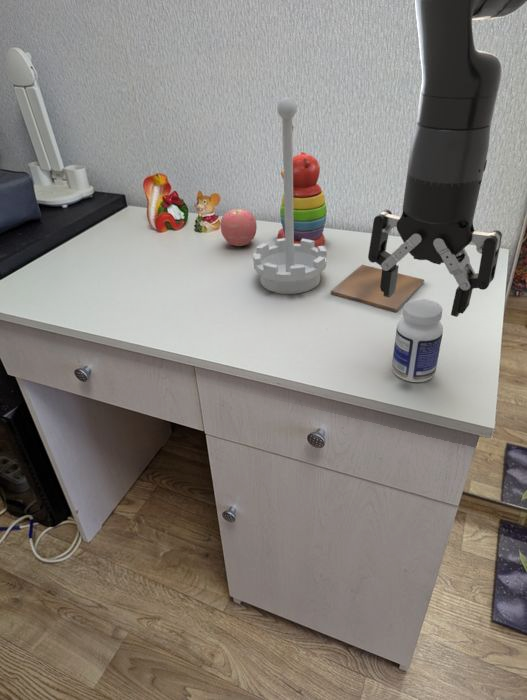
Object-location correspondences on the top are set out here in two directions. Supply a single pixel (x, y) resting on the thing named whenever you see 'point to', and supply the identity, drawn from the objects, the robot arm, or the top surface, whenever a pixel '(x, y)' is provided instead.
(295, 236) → the stacking bear
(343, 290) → the coaster
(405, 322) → the pill bottle
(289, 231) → the grey countertop holder stand
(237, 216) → the apple
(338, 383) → the top surface
